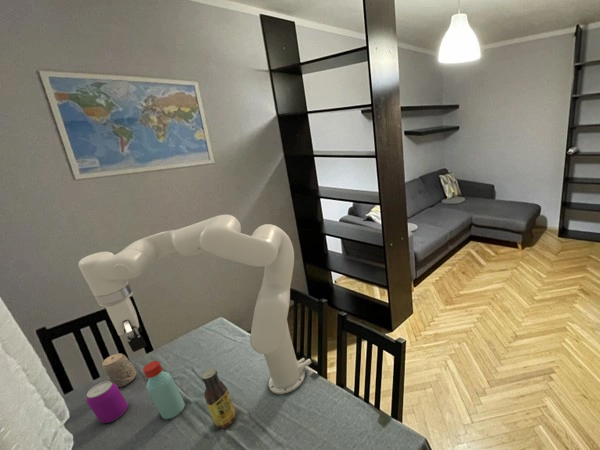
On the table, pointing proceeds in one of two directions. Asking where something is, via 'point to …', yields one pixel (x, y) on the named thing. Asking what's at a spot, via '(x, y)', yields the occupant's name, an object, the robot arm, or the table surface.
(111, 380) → the carving
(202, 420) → the table surface
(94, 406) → the beverage can
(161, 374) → the water bottle
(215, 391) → the sauce bottle
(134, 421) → the table surface
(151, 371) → the cap
